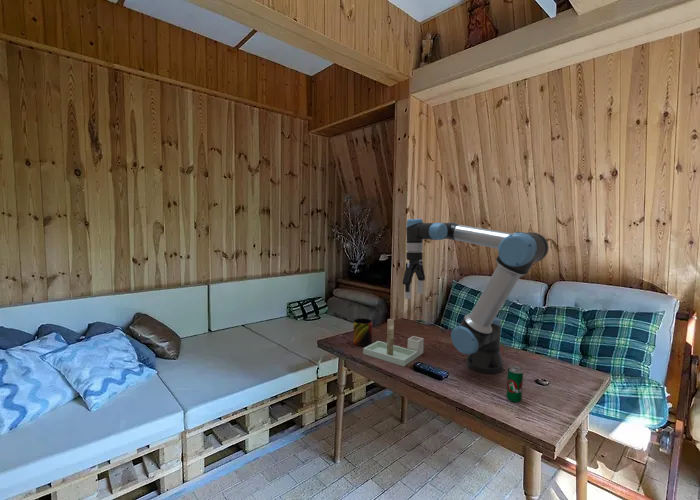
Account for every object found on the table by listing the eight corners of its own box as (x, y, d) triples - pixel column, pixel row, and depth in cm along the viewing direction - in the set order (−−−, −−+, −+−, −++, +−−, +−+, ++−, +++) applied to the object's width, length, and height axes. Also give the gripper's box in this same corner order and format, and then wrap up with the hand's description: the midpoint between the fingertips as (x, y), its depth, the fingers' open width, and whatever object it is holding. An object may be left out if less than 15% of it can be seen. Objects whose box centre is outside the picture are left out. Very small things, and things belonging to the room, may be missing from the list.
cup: (423, 354, 165) (423, 338, 164) (417, 358, 160) (418, 341, 160) (412, 351, 168) (413, 335, 167) (407, 355, 164) (407, 339, 163)
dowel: (394, 354, 161) (395, 319, 160) (391, 356, 159) (391, 321, 157) (389, 353, 163) (389, 318, 162) (385, 355, 161) (386, 320, 159)
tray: (417, 358, 160) (417, 351, 159) (403, 368, 149) (404, 360, 149) (378, 347, 173) (378, 340, 173) (363, 355, 163) (363, 348, 163)
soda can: (517, 395, 127) (518, 364, 126) (524, 403, 122) (526, 370, 121) (503, 395, 127) (505, 364, 126) (510, 403, 122) (512, 370, 121)
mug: (359, 336, 189) (359, 315, 187) (375, 344, 177) (375, 321, 176) (345, 340, 183) (345, 318, 182) (360, 348, 172) (361, 325, 171)
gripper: (417, 249, 173) (417, 291, 175) (395, 253, 153) (395, 300, 154) (431, 250, 169) (431, 292, 171) (410, 254, 149) (410, 302, 150)
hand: (414, 296), depth 163 cm, fingers open, 13 cm apart
